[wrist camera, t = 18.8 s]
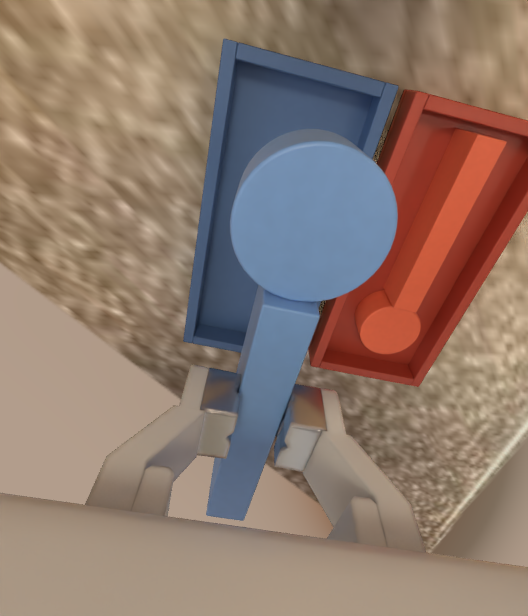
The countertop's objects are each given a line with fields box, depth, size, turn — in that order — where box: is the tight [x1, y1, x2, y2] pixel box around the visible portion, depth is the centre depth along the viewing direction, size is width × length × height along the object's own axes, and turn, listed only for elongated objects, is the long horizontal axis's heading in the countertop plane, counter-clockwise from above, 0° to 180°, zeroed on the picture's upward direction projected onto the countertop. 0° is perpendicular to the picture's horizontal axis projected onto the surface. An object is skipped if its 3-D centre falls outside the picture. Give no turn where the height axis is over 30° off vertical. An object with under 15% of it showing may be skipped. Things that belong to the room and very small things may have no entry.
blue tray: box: [183, 39, 398, 353], centre depth 21 cm, size 8×16×2 cm, turn 167°
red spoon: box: [355, 128, 507, 354], centre depth 20 cm, size 13×4×2 cm, turn 168°
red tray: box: [309, 89, 528, 387], centre depth 21 cm, size 8×16×2 cm, turn 167°
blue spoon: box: [206, 129, 398, 521], centre depth 11 cm, size 13×4×2 cm, turn 167°
